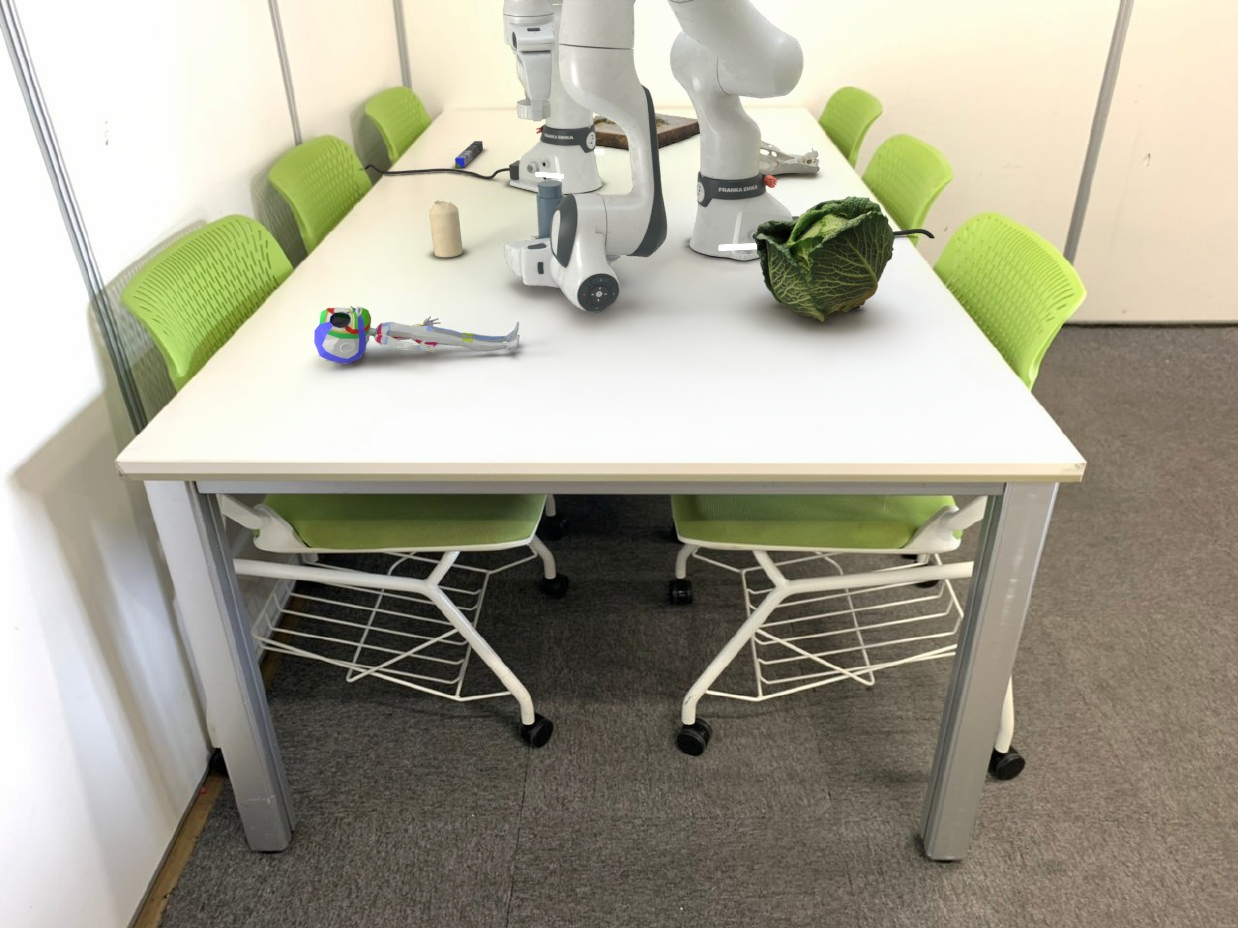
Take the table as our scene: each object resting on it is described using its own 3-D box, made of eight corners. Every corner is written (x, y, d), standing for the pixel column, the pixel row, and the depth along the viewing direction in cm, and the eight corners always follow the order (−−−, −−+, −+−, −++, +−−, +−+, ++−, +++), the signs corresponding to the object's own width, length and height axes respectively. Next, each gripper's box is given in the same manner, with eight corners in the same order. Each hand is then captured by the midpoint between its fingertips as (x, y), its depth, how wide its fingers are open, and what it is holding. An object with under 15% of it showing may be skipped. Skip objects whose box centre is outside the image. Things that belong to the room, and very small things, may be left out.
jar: (546, 261, 170) (542, 178, 162) (572, 264, 169) (568, 180, 161) (536, 270, 166) (530, 186, 158) (562, 273, 165) (558, 188, 157)
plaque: (647, 125, 237) (559, 112, 252) (647, 153, 241) (560, 139, 256) (706, 107, 258) (622, 97, 273) (705, 133, 262) (622, 121, 277)
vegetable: (781, 336, 156) (729, 236, 148) (870, 275, 157) (823, 172, 149) (838, 357, 138) (781, 244, 130) (938, 287, 139) (888, 171, 131)
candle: (467, 249, 176) (462, 199, 171) (454, 259, 172) (448, 207, 167) (442, 247, 178) (436, 196, 172) (429, 256, 173) (422, 204, 168)
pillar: (482, 141, 246) (462, 159, 229) (483, 149, 247) (463, 167, 230) (474, 141, 246) (454, 159, 230) (475, 149, 247) (455, 167, 231)
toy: (520, 333, 130) (306, 316, 126) (516, 385, 135) (309, 370, 130) (519, 307, 139) (319, 289, 134) (515, 356, 143) (321, 341, 139)
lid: (540, 121, 158) (539, 107, 157) (510, 118, 161) (510, 104, 159) (557, 114, 163) (556, 100, 162) (528, 111, 165) (527, 97, 164)
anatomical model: (720, 129, 225) (821, 128, 221) (719, 166, 230) (818, 165, 226) (716, 143, 213) (823, 142, 209) (716, 182, 218) (820, 182, 214)
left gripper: (505, 23, 162) (511, 104, 170) (518, 42, 145) (523, 130, 153) (540, 22, 163) (544, 102, 171) (556, 40, 146) (560, 128, 154)
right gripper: (628, 237, 155) (604, 215, 166) (513, 251, 150) (496, 227, 161) (629, 272, 159) (605, 248, 170) (516, 286, 153) (499, 260, 165)
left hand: (534, 116), depth 162 cm, fingers closed on lid, 6 cm apart
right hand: (551, 237), depth 165 cm, fingers closed on jar, 5 cm apart
